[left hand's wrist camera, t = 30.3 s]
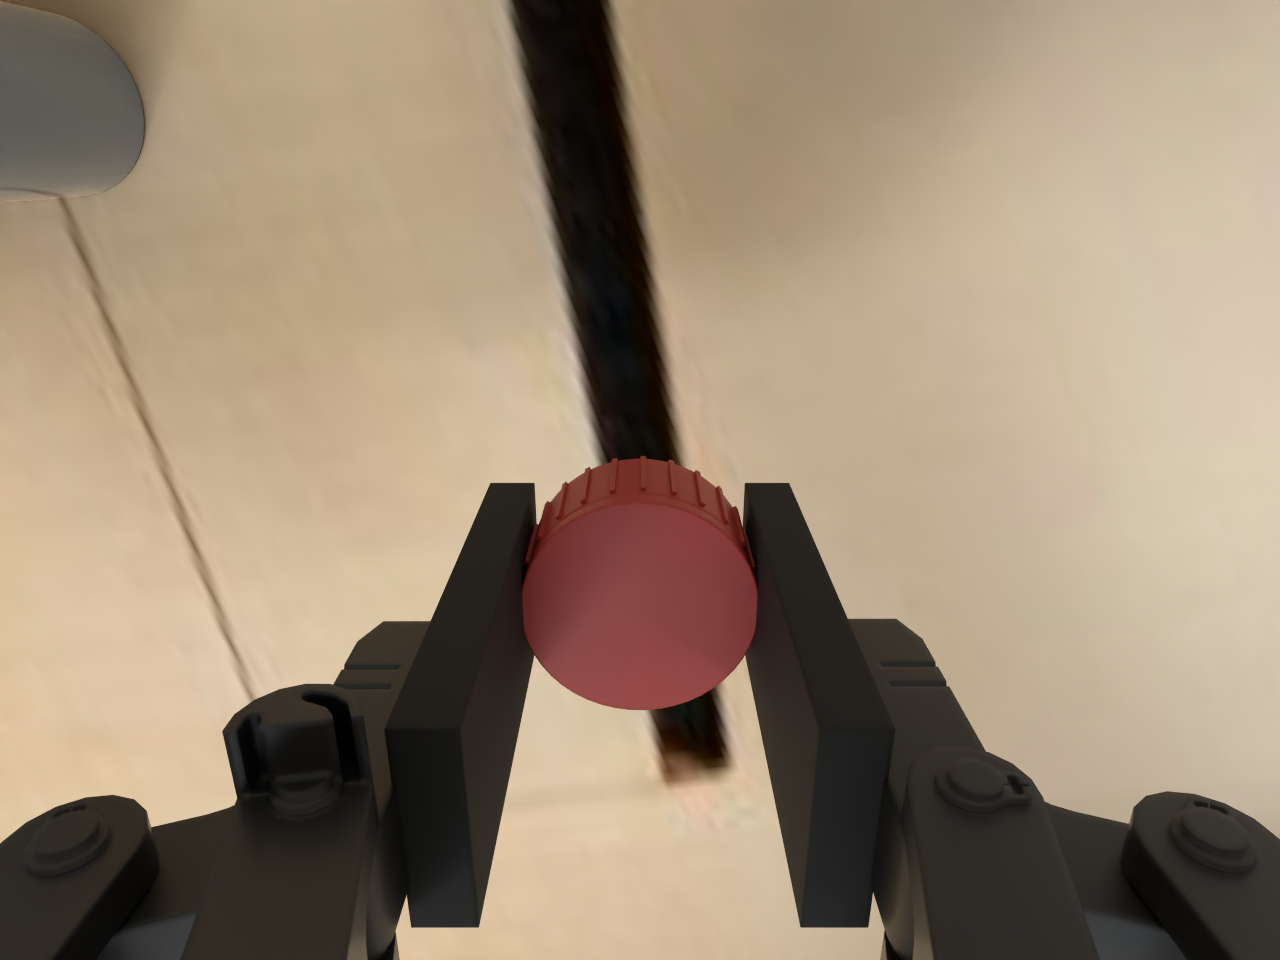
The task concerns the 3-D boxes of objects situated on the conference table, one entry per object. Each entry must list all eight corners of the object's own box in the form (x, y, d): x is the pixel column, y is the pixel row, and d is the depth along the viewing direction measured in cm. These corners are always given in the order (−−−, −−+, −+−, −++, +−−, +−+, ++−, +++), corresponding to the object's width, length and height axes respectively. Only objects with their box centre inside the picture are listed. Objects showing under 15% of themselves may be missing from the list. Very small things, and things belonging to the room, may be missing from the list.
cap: (526, 640, 15) (510, 704, 14) (535, 444, 14) (520, 487, 12) (732, 656, 16) (745, 722, 14) (763, 463, 14) (780, 509, 12)
